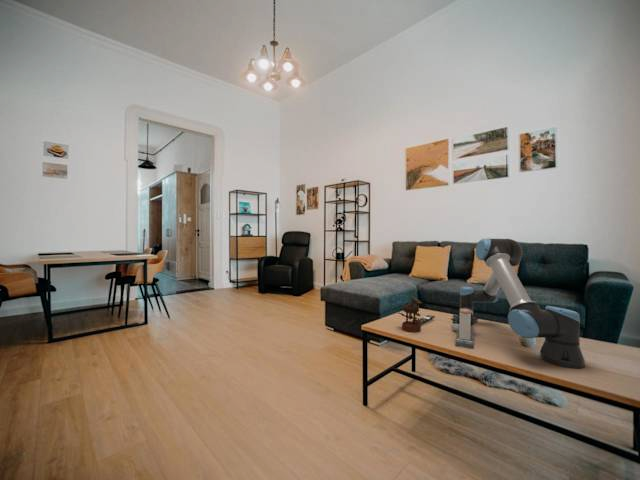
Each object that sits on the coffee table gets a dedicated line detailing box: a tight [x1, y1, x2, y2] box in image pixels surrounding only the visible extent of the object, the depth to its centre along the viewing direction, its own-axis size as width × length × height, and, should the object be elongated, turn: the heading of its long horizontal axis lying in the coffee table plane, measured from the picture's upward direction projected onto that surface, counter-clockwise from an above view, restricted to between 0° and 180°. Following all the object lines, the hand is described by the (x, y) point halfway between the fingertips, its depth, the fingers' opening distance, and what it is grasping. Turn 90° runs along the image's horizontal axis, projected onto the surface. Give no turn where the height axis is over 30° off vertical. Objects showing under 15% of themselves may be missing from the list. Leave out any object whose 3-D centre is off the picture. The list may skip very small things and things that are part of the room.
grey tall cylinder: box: [458, 308, 472, 340], centre depth 147 cm, size 5×5×15 cm
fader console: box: [454, 331, 475, 350], centre depth 148 cm, size 18×8×2 cm, turn 151°
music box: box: [397, 295, 423, 334], centre depth 167 cm, size 15×11×20 cm
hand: (464, 325), depth 149 cm, fingers closed
